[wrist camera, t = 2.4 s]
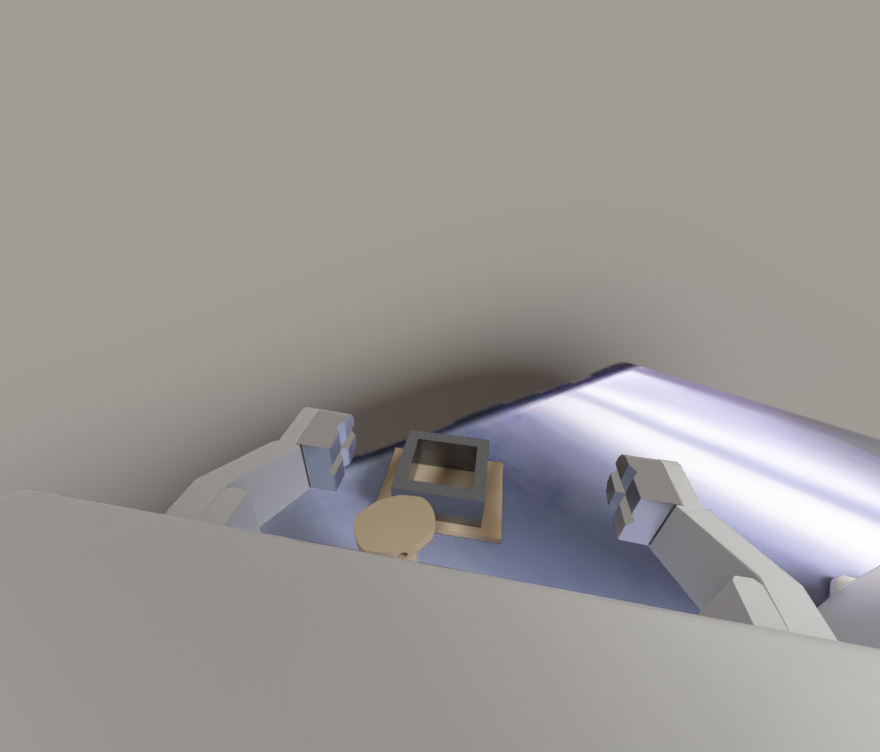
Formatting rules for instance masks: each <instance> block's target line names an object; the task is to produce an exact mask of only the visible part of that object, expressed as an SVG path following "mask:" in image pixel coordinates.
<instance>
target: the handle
mask: <svg viewBox="0 0 880 752" xmlns="http://www.w3.org/2000/svg"><path fill="white" fill-rule="evenodd" d="M434 532H435V515H434V511H433V509H432V507H431V505H430V504H429V502H427V501H426V500H425V499H424V498H422V497H417V496H409V495H398V496H393V497H389V498H385V499H381V500H378V501H376V502H374V503H373V504H371V505H370V506H368V507H367V508H365V509H364V510H362V511H361V512H360V513H358V515H357V517H356V519H355V523H354V534H355V539H356V543H357V546H358V548H359V551H362V552H367V553H372V554H378V555H383V556H388V557H394V558H399V559H404V560H410V561H415V562H418V557H417V552H418V551H420V550H421V549H422V548H423V547H425V546H426V545H427V544H428V543H429V542H430V541H431V540H432V539H433V536H434Z"/></svg>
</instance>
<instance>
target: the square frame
mask: <svg viewBox="0 0 880 752" xmlns="http://www.w3.org/2000/svg"><path fill="white" fill-rule="evenodd" d="M488 452H489V440H483V439H475V438H468V437H460V436H453V435H446V434H438V433H431V432H422V431H415V430H410V432H409V435H408V438H407V441H406V444H405V447H404V450H403V453H402V456H401V459H400V462H399V465H398V468H397V471H396V474H395V477H394V480H393V483H392V486H391V496H392V497H393V496H398V495H409V496H417V497H422V498H424V499H425V500H426V501H427V502H429V504H430V505H431V507H432V509H433V511H434V515H435V521H441V522H447V523H454V524H460V525H466V526H472V527H478V528H481V524H482V518H483V512H484V506H485V496H486V481H487V467H488ZM418 464H422V465H429V466H436V467H442V468H449V469H456V470H463V471H470V472H474V479H473V489H467V488H461V487H454V486H447V485H441V484H434V483H427V482H421V481H414V479H415V475H416V471H417V468H418Z"/></svg>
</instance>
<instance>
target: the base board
mask: <svg viewBox="0 0 880 752" xmlns="http://www.w3.org/2000/svg"><path fill="white" fill-rule="evenodd" d="M403 450H404V449H402V448H395V451H394V454H393V457H392V460H391V462H390V465H389V468H388V471H387V474H386V476H385V479H384V482H383V485H382V488H381V490H380V493H379V496H378V499H377V501H378V500H381V499H385V498H389V497H392V496H391V486H392V483H393V480H394V477H395V474H396V471H397V468H398V465H399V462H400V459H401V456H402V453H403ZM473 479H474V472H470V471H463V470H456V469H449V468H442V467H436V466H429V465H422V464H418V468H417V471H416V475H415V479H414V481H421V482H427V483H434V484H441V485H447V486H454V487H461V488H467V489H473ZM502 493H503V463H501V462H494V461H488V467H487V481H486V496H485V506H484V512H483V518H482V524H481V528H478V527H472V526H466V525H460V524H454V523H447V522H441V521H435V532H434V533H439V534H445V535H451V536H457V537H463V538H469V539H475V540H481V541H487V542H493V543H499V544H500V543H501V537H502Z"/></svg>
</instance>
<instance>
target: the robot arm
mask: <svg viewBox="0 0 880 752" xmlns="http://www.w3.org/2000/svg"><path fill="white" fill-rule="evenodd" d="M353 425H354V418H353V416H352V415H351V414H346V413H340V412H335V411H328V410H323V409H315V408H309V407H306V408H304V409H302V411H301V412H300V413H299V415H298V416H297V417H296V419H295V420H294V421H293V422H292V424H291V425H290V426H289V428H288V429H287V430H286V432H285V433H284V434H283V436H282V437H281V438H280V440H279V441H272V442H270V443H268V444H266V445H264V446H262V447H260V448H258V449H256V450H254V451H252V452H250V453H248V454H246V455H244V456H242V457H240V458H238V459H236V460H234V461H232V462H230V463H228V464H226V465H223V466H221V467H220V468H217V469H216V470H213V471H211V472H209V473H207V474H205V475H203V476H201V477H199V478H197V479H196V480H195V481H194V482H193V483H192V484H191V485H190V486H189V487H188V488H187V489H186V491H185V492H184V493H183V494H182V495H181V496H180V497H179V498H178V499H177V500H176V502H175V503H174V504H173V505H172V506H171V507H170V508H169V509H168V510H167V511H166V512H165V514H159V513H154V512H149V511H143V510H138V509H133V508H127V507H122V506H117V505H111V504H106V503H101V502H95V501H90V500H85V499H79V498H74V497H69V496H64V495H59V494H55V493H50V492H45V491H38V490H20V491H15V492H12V493H8V494H5V495H2V496H0V752H880V566H878V567H876V568H875V569H873V570H871V571H869V572H867V573H866V574H864V575H862V576H860V577H859V578H857V579H855V578H852V577H849V576H845V575H839V576H837V577H835V578H833V579H832V580H831V583H830V596H829V598H828V599H827V600H826V601H825V602H823V603H822V604H821V605H820V606H819V607H818V608H817V607H816V606H815V604H814V603H813V601H812V600H811V598H810V596H809V595H808V593H807V592H806V590H805V589H804V587H803V586H802V585H801V584H800V583H798V582H797V581H796V580H795V579H793V578H792V577H791V576H790V575H788V574H787V573H786V572H785V571H784V570H782V569H781V568H780V567H779V566H777V565H776V564H775V563H774V562H772V561H771V560H770V559H769V558H768V557H766V556H765V555H764V554H763V553H761V552H760V551H759V550H758V549H756V548H755V547H754V546H753V545H752V544H750V543H749V542H748V541H747V540H745V539H744V538H743V537H742V536H740V535H739V534H738V533H737V532H736V531H734V530H733V529H732V528H731V527H729V526H728V525H727V524H726V523H724V522H723V521H722V520H721V519H720V518H718V517H717V516H716V515H715V514H713V513H712V512H711V511H710V510H705V509H703V507H702V505H701V503H700V501H699V499H698V498H697V496H696V494H695V492H694V490H693V488H692V486H691V484H690V482H689V480H688V478H687V476H686V474H685V473H684V471H683V469H682V467H681V465H680V464H679V463H678V462H674V461H667V460H659V459H658V460H656V459H650V458H643V457H636V456H629V455H621V456H620V457H618V459H617V462H616V467H617V471H615V472H613V473H612V474H610V477H609V479H608V482H607V489H606V493H607V501H608V505H609V506H610V507H611V508H612V509H613V510H614V512H615V514H614V516H613V518H612V520H613V524H614V527H615V531H616V535H617V538H618V540H623V541H628V542H633V543H638V544H643V545H648V546H649V548H650V549H651V550H652V552H653V553H654V554H655V555H656V557H657V558H658V559H659V560H660V561H661V563H662V564H663V565H664V566H665V568H666V569H667V570H668V571H669V572H670V574H671V575H672V576H673V577H674V579H675V580H676V581H677V582H678V584H679V585H680V586H681V587H682V588H683V590H684V591H685V592H686V593H687V595H688V596H689V597H690V598H691V599H692V601H693V602H694V603H695V604H696V606H697V607H698V608H699V609H700V611H701V612H700V613H699V614H698V615H697V614H692V613H686V612H681V611H676V610H670V609H665V608H660V607H654V606H649V605H644V604H639V603H633V602H628V601H623V600H617V599H612V598H607V597H601V596H596V595H591V594H585V593H580V592H574V591H569V590H564V589H558V588H553V587H548V586H542V585H537V584H532V583H526V582H521V581H515V580H510V579H505V578H499V577H494V576H489V575H484V574H478V573H473V572H468V571H462V570H457V569H452V568H447V567H441V566H436V565H431V564H425V563H420V562H415V561H410V560H404V559H399V558H394V557H388V556H383V555H378V554H372V553H367V552H362V551H356V550H351V549H346V548H340V547H335V546H330V545H325V544H319V543H314V542H309V541H303V540H298V539H293V538H287V537H282V536H277V535H271V534H266V533H261V530H260V527H261V526H262V525H263V524H265V523H266V522H267V521H269V520H270V519H271V518H272V517H274V516H275V515H276V514H278V513H279V512H280V511H282V510H283V509H284V508H285V507H287V506H288V505H289V504H291V503H292V502H293V501H295V500H296V499H297V498H299V497H300V496H301V495H302V494H304V493H305V492H306V491H308V490H309V489H310V488H309V487H311V488H318V489H325V490H332V491H337V489H338V487H339V485H340V483H341V481H342V479H343V477H344V475H345V473H344V467H345V466H347V465H348V464H350V462H351V460H352V458H353V455H354V451H355V447H356V436H355V434H354V433H353V431H352V430H351V429H352V428H353Z"/></svg>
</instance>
